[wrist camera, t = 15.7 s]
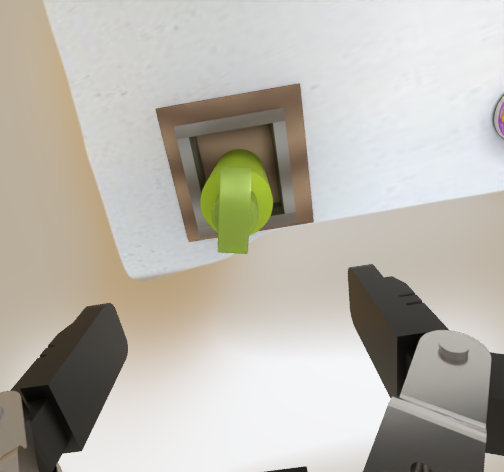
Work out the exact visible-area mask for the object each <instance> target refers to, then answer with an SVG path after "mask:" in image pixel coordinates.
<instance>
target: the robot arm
mask: <svg viewBox="0 0 504 472" xmlns="http://www.w3.org/2000/svg"><path fill="white" fill-rule="evenodd" d="M348 282H349V300H350V312H351V317H352V320H353V324H354V326H355V328H356V330H357V332H358V334H359V336H360V338H361V340H362V342H363V344H364V346H365V348H366V350H367V352H368V354H369V356H370V358H371V360H372V362H373V364H374V366H375V368H376V370H377V372H378V374H379V376H380V378H381V380H382V382H383V384H384V386H385V388H386V390H387V392H388V394H389V396H390V398H391V400H390V402H389V404H388V406H387V409H386V412H385V414H384V417H383V420H382V423H381V425H380V428H379V431H378V433H377V436H376V438H375V441H374V444H373V446H372V449H371V452H370V454H369V457H368V460H367V462H366V465H365V468H364V471H363V472H484V460H485V453H491V454H497V455H502V456H504V354H496V353H491V352H489V350H488V349H487V348H486V347H485V346H484V345H483V344H482V343H480V342H479V341H478V340H476V339H475V338H473V337H471V336H469V335H466V334H464V333H460V332H456V331H450V330H448V328H447V327H446V326H445V325H444V324H443V323H442V322H441V321H440V320H439V319H438V318H437V316H436V315H435V314H434V313H433V312H432V311H431V310H430V309H429V308H428V307H427V306H426V305H425V304H424V303H422V300H421V299H420V298H419V297H418V296H417V295H415V293H414V292H413V291H412V289H411V288H410V287H409V286H408V285H407V284H406V283H404V282H402V281H400V280H398V279H396V278H394V277H385V278H384V277H383V276H382V275H381V274H380V272H379V271H378V270H377V269H376V268H375V266H374V265H373V264H369V265H363V266H356V267H350V268H349V269H348ZM127 353H128V344H127V339H126V337H125V334H124V331H123V328H122V326H121V323H120V320H119V317H118V315H117V312H116V310H115V307H114V306H113V305H112V304H111V303H107V304H100V305H93V306H87V307H86V308H85V309H84V310H83V311H82V313H81V314H80V315H79V316H78V317H77V319H76V320H75V321H74V322H73V323H72V324H71V325H69V326H68V327H67V328H65V329H64V330H63V331H61V332H60V333H59V334H58V335H57V336H56V337H55V338H54V339H53V340H52V342H51V343H50V344H49V345H48V348H46V349H45V350H44V351H43V352H42V354H41V355H40V358H37V359H36V361H35V362H34V363H33V364H32V365H31V367H30V368H29V369H28V370H27V371H26V373H25V374H24V375H23V376H22V377H21V379H20V380H19V381H18V382H17V383H16V385H15V386H14V387H13V388H12V389H11V390H10V391H6V392H1V393H0V472H62V470H61V467H60V466H59V464H58V461H59V459H60V457H61V455H62V454H63V453H71V452H78V451H82V449H83V447H84V445H85V443H86V441H87V439H88V437H89V435H90V433H91V430H92V428H93V427H94V424H95V422H96V420H97V418H98V416H99V414H100V412H101V410H102V408H103V406H104V404H105V401H106V400H107V397H108V395H109V393H110V391H111V389H112V387H113V385H114V383H115V381H116V379H117V377H118V374H119V373H120V370H121V368H122V366H123V364H124V362H125V360H126V357H127ZM267 472H307V467H298V468H290V469H282V470H275V471H267Z"/></svg>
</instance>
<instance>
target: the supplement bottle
mask: <svg viewBox="0 0 504 472" xmlns="http://www.w3.org/2000/svg"><path fill="white" fill-rule="evenodd" d="M494 123H495V127H496V130H497V132H498V133H499V135H500V136H501V137H503V138H504V96H503V97H502V99H501V100H500V102H499V104H498V106H497V108H496V111H495V117H494Z"/></svg>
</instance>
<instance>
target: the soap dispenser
mask: <svg viewBox="0 0 504 472" xmlns="http://www.w3.org/2000/svg"><path fill="white" fill-rule="evenodd" d="M200 204H201V210H202V214H203V216H204V218H205V220H206V221H207V223H208V224H209V225H210V226H211V227H212V228H213V229H214V230H215V231H217V232H218V252H222V253H244V254H247V253H248V239H249V235H252V234H254V233H256V232H257V231H259V230H260V229H261V228H262V227H263V226H264V225H265V224H266V223H267V221H268V219H269V218H270V215H271V212H272V208H273V197H272V193H271V189H270V186H269V183H268V179H267V176H266V173H265V170H264V166H263V164H262V162H261V160H260V159H259V158H258V157H257V156H256V155H255V154H254V153H252V152H250V151H248V150H244V149H235V150H231V151H229V152H227V153H226V154H224V155H223V156H222V157H221V158H220V159H219V161H218V163H217V165H216V166H215V168H214V170H213V171H212V173H211V175H210V177H209V178H208V180H207V182H206V184H205V186H204V188H203V190H202V193H201V199H200Z"/></svg>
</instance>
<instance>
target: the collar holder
mask: <svg viewBox="0 0 504 472" xmlns="http://www.w3.org/2000/svg"><path fill="white" fill-rule="evenodd" d="M156 113H157V117H158V121H159V125H160V129H161V133H162V137H163V141H164V145H165V149H166V153H167V157H168V161H169V165H170V169H171V173H172V177H173V181H174V185H175V189H176V193H177V197H178V201H179V205H180V209H181V213H182V217H183V221H184V225H185V229H186V233H187V237H188V241H189V242H192V241H198V240H204V239H211V238H217V237H218V232H217V231H215V230H214V229H213V228H212V227H211V226H210V225H209V224H208V223H207V221H206V220H205V218H204V216H203V214H202V210H201V204H200V199H201V193H202V190H203V188H204V186H205V184H206V182H207V180H208V178H209V177H210V175H211V173H212V171H213V170H214V168H215V166H216V165H217V163H218V161H219V159H220V158H221V157H222V156H223V155H224V154H226V153H227V152H229V151H231V150H235V149H244V150H248V151H250V152H252V153H254V154H255V155H256V156H257V157H258V158H259V159H260V160H261V162H262V164H263V166H264V170H265V173H266V176H267V179H268V183H269V186H270V189H271V193H272V197H273V208H272V212H271V215H270V218H269V219H268V221H267V223H266V224H265V225H264V226H263V227H262V228H261V229H260V230H259V231H261V230H268V229H274V228H280V227H287V226H293V225H299V224H306V223H312V222H314V220H313V210H312V200H311V190H310V180H309V170H308V159H307V149H306V139H305V129H304V119H303V109H302V99H301V89H300V84H294V85H288V86H283V87H277V88H271V89H266V90H260V91H254V92H248V93H243V94H237V95H231V96H226V97H220V98H214V99H209V100H203V101H197V102H192V103H186V104H180V105H175V106H169V107H163V108H157V109H156Z"/></svg>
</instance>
